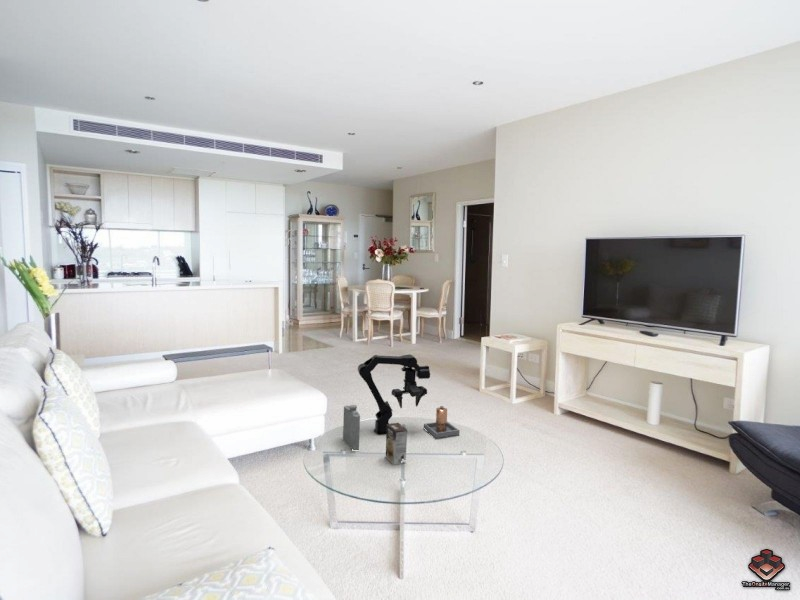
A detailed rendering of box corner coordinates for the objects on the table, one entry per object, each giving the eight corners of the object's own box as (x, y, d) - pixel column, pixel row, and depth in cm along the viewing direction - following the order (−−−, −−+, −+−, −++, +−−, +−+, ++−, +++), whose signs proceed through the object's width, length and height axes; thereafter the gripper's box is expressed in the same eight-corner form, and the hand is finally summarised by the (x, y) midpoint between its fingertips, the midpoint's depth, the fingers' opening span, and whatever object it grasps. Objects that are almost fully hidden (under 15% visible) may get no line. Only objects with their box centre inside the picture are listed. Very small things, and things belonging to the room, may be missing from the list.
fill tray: (435, 439, 240) (436, 433, 240) (423, 429, 253) (423, 423, 253) (459, 435, 246) (459, 430, 246) (445, 425, 259) (446, 420, 259)
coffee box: (384, 457, 218) (386, 424, 216) (397, 454, 221) (398, 421, 219) (393, 465, 210) (395, 431, 208) (406, 462, 213) (407, 429, 211)
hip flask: (342, 439, 236) (343, 401, 234) (349, 438, 238) (350, 400, 236) (353, 452, 222) (354, 411, 220) (361, 450, 224) (362, 410, 221)
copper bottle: (442, 433, 246) (443, 409, 244) (433, 431, 249) (434, 406, 248) (448, 430, 250) (449, 406, 248) (439, 427, 254) (440, 403, 252)
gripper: (400, 384, 236) (399, 414, 238) (432, 381, 243) (431, 410, 245) (391, 378, 246) (390, 407, 248) (423, 375, 254) (421, 403, 255)
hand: (408, 407), depth 249 cm, fingers open, 9 cm apart
